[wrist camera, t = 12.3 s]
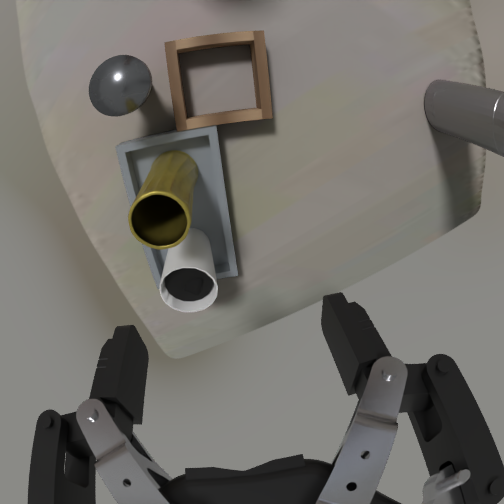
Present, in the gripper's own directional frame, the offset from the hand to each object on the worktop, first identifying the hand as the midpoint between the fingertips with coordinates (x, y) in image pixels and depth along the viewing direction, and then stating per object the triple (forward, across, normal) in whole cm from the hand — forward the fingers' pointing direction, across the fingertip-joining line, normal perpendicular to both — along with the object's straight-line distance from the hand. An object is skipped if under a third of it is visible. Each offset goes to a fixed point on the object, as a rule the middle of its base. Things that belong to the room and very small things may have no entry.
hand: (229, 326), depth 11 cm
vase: (+27, +5, 0) cm, 27 cm away
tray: (+27, +5, +6) cm, 28 cm away
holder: (+28, -2, -10) cm, 29 cm away
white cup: (+27, +5, +11) cm, 30 cm away
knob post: (+27, +8, -12) cm, 31 cm away
